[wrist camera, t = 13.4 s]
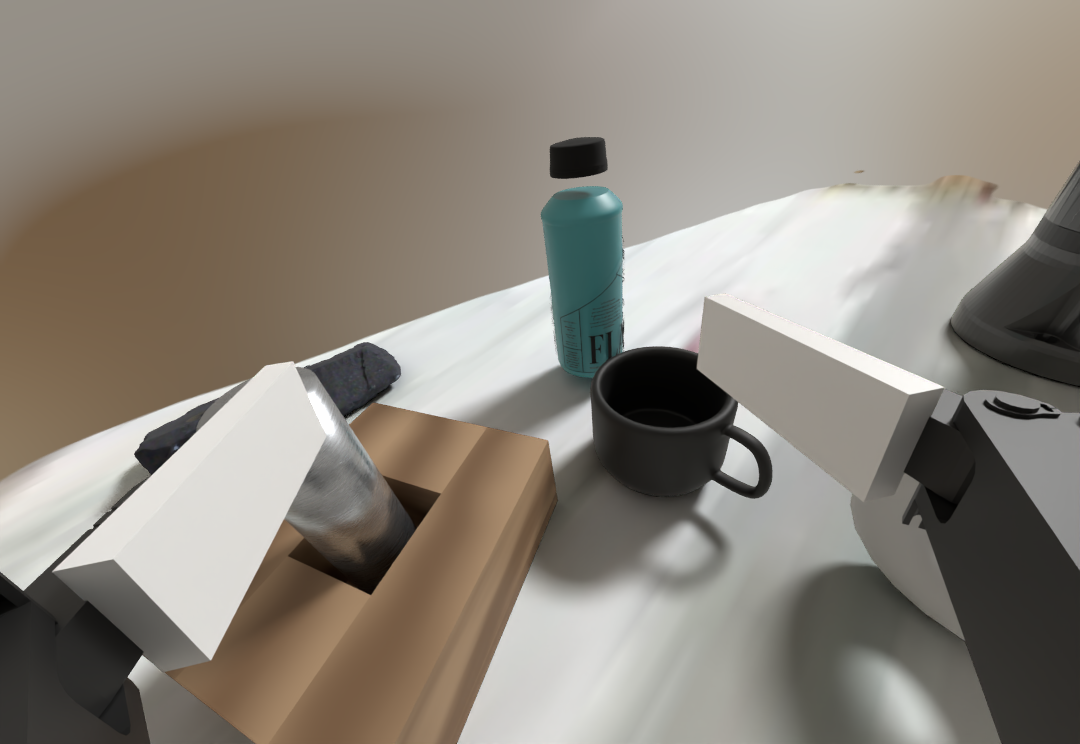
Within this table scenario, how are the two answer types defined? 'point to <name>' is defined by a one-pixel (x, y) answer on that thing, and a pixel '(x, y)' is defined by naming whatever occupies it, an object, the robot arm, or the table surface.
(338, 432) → the pin
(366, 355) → the dark slate chunk
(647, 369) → the mug
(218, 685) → the block
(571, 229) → the beverage bottle
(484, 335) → the table surface
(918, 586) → the donut
